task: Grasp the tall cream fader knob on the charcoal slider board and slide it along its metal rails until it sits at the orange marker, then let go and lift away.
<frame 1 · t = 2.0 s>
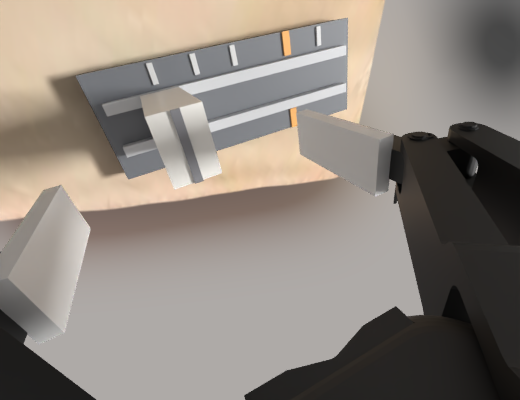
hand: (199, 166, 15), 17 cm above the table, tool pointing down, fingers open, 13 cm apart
slider board: (234, 93, 30), on the table
fader knob: (176, 129, 21), point 8 cm above the table, slide at 0.0 cm
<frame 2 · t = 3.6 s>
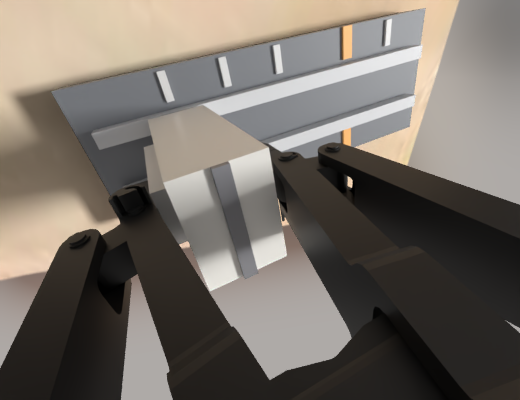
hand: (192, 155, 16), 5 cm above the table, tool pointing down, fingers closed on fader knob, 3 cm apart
slider board: (270, 109, 23), on the table
fader knob: (203, 173, 14), point 8 cm above the table, slide at 0.0 cm, touching gripper
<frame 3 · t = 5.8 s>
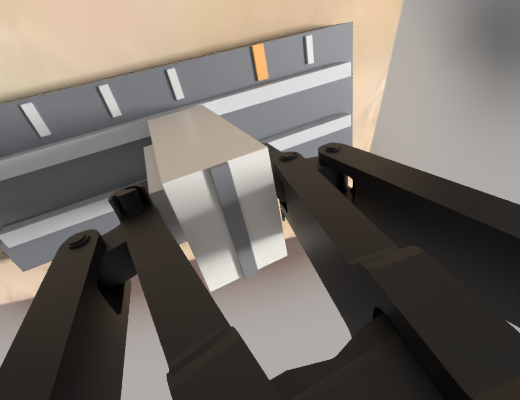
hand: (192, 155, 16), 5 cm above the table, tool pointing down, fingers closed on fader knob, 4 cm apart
slider board: (189, 133, 21), on the table
fader knob: (203, 173, 14), point 8 cm above the table, slide at 7.3 cm, touching gripper
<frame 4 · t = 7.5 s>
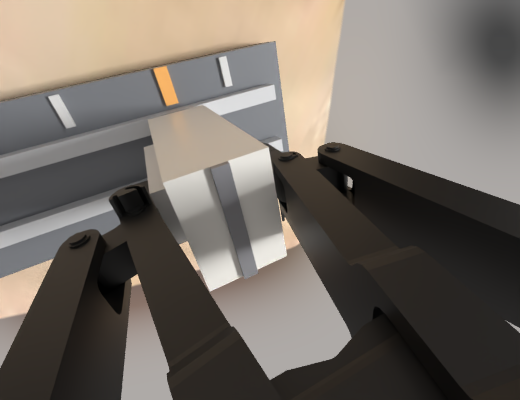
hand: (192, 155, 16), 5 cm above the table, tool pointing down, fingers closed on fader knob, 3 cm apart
slider board: (101, 159, 19), on the table
fader knob: (203, 173, 14), point 8 cm above the table, slide at 14.0 cm, touching gripper
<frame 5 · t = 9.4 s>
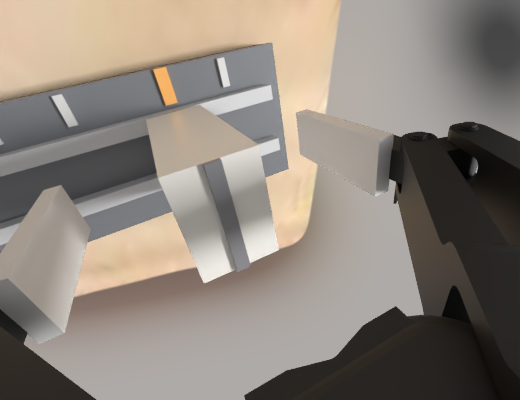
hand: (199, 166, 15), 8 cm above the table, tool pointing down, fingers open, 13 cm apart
slider board: (102, 158, 20), on the table
fader knob: (199, 171, 14), point 8 cm above the table, slide at 13.9 cm
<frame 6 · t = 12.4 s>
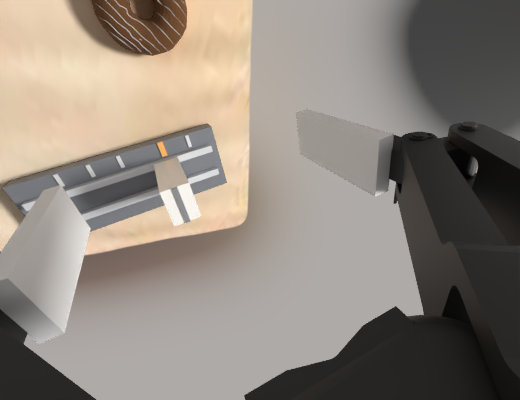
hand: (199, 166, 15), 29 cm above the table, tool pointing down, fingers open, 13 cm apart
slider board: (132, 179, 41), on the table
donut: (141, 7, 33), on the table
fader knob: (175, 187, 36), point 8 cm above the table, slide at 13.9 cm
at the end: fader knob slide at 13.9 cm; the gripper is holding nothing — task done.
